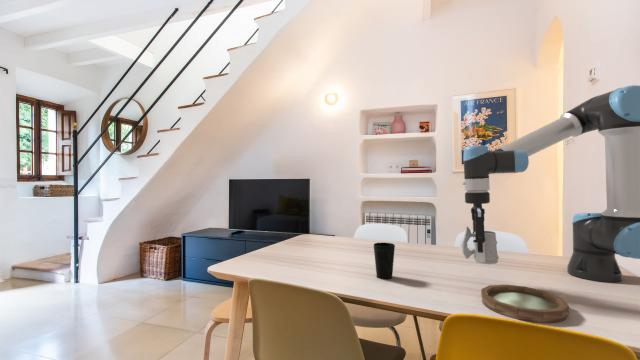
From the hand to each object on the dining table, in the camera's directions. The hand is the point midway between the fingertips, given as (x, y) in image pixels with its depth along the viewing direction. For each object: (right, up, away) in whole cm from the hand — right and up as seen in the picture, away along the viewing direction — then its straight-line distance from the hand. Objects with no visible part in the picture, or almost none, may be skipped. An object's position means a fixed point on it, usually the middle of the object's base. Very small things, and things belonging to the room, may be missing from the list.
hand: (479, 258), depth 107 cm
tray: (+3, -9, -19) cm, 21 cm away
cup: (-30, -9, +9) cm, 33 cm away
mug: (0, -1, -1) cm, 1 cm away
